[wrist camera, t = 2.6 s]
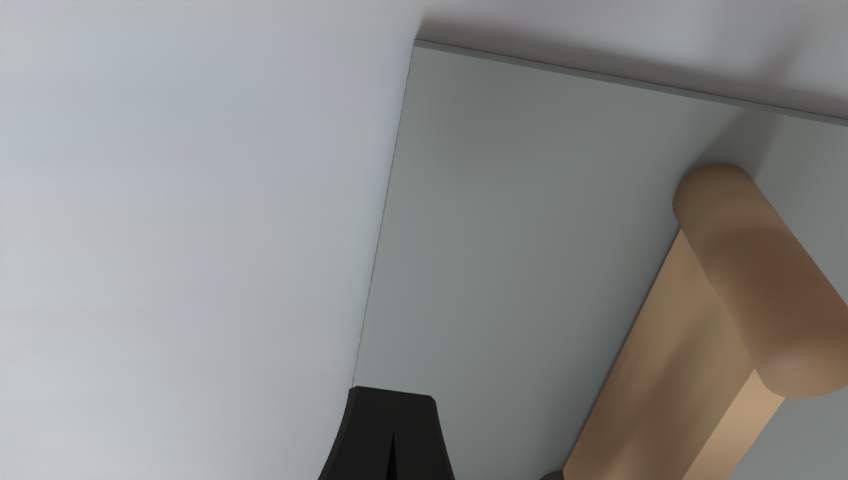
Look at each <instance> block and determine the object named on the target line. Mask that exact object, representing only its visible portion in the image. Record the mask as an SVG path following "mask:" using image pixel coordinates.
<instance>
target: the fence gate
mask: <svg viewBox="0 0 848 480" xmlns="http://www.w3.org/2000/svg"><path fill="white" fill-rule="evenodd" d="M672 207H673V212H674V215H675V217H676V219H677V221H678V223H679V225H680V227H681V229H680V231H679V233H678V235H677V237H676V239H675V241H674V243H673V246H672V248H671V250H670V252H669V254H668V256H667V258H666V260H665V262H664V264H663V266H662V268H661V270H660V272H659V274H658V276H657V278H656V281H655V283H654V285H653V287H652V289H651V291H650V293H649V295H648V297H647V299H646V301H645V303H644V305H643V307H642V309H641V311H640V313H639V315H638V318H637V320H636V322H635V324H634V326H633V328H632V330H631V332H630V334H629V336H628V338H627V340H626V342H625V344H624V346H623V348H622V350H621V352H620V355H619V357H618V359H617V361H616V363H615V365H614V367H613V369H612V371H611V373H610V375H609V377H608V379H607V381H606V383H605V385H604V387H603V389H602V392H601V394H600V396H599V398H598V400H597V402H596V404H595V406H594V408H593V410H592V412H591V414H590V416H589V418H588V420H587V422H586V424H585V426H584V429H583V431H582V433H581V435H580V437H579V439H578V441H577V443H576V445H575V447H574V449H573V451H572V453H571V455H570V457H569V459H568V461H567V463H566V466H565V468H564V470H563V475H564V480H727V479H728V477H729V476H730V474H731V473H732V472H733V470H734V469H735V467H736V466H737V465H738V463H739V462H740V460H741V459H742V458H743V456H744V455H745V453H746V452H747V451H748V449H749V448H750V447H751V445H752V444H753V442H754V441H755V440H756V438H757V437H758V435H759V434H760V433H761V431H762V430H763V428H764V427H765V426H766V424H767V423H768V421H769V420H770V419H771V417H772V416H773V414H774V413H775V412H776V410H777V409H778V407H779V406H780V405H781V403H782V402H783V400H784V399H785V398H786V397H787V398H794V399H806V398H814V397H819V396H823V395H827V394H830V393H832V392H835V391H837V390H839V389H841V388H843V387H845V386H847V385H848V306H847V304H846V303H845V302H844V300H843V299H842V298H841V296H840V295H839V294H838V292H837V291H836V290H835V288H834V287H833V286H832V284H831V283H830V282H829V280H828V279H827V278H826V276H825V275H824V274H823V272H822V271H821V270H820V268H819V267H818V266H817V264H816V263H815V262H814V261H813V259H812V258H811V257H810V255H809V254H808V253H807V251H806V250H805V249H804V247H803V246H802V245H801V243H800V242H799V241H798V239H797V238H796V237H795V235H794V234H793V233H792V231H791V230H790V229H789V227H788V226H787V225H786V223H785V222H784V221H783V219H782V218H781V217H780V216H779V214H778V213H777V212H776V210H775V209H774V208H773V206H772V205H771V204H770V202H769V201H768V200H767V198H766V197H765V196H764V194H763V193H762V192H761V190H760V189H759V188H758V186H757V185H756V184H755V182H754V181H753V180H752V178H751V177H750V176H749V175H748V173H747V172H745V171H744V170H743V169H741V168H740V167H737V166H735V165H730V164H714V165H709V166H706V167H703V168H701V169H699V170H697V171H695V172H693V173H692V174H690V175H689V176H688V177H687V178H686V179H684V181H683V182H682V183H681V184H680V185H679V187H678V188H677V190H676V192H675V194H674V197H673V204H672Z"/></svg>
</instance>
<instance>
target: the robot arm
mask: <svg viewBox="0 0 848 480" xmlns="http://www.w3.org/2000/svg"><path fill="white" fill-rule="evenodd" d="M318 480H455V477H454V474H453V470H452V467H451V463H450V460H449V456H448V453H447V449H446V446H445V442H444V438H443V434H442V430H441V426H440V421H439V416H438V411H437V405H436V401H435V400H434V399H433V398H432V396H430V395H422V394H415V393H408V392H401V391H393V390H386V389H379V388H371V387H364V386H355V387H353V388H351V389H349V394H348V399H347V404H346V408H345V412H344V415H343V419H342V422H341V425H340V428H339V431H338V434H337V436H336V439H335V441H334V444H333V446H332V449H331V451H330V454H329V456H328V459H327V461H326V463H325V465H324V468H323V470H322V472H321V474H320V476H319V478H318Z"/></svg>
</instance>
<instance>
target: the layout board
mask: <svg viewBox="0 0 848 480" xmlns="http://www.w3.org/2000/svg"><path fill="white" fill-rule="evenodd" d="M714 164H730V165H735V166H737V167H740V168H741V169H743V170H744V171H745V172H747V173H748V175H749V176H750V177H751V178H752V180H753V181H754V182H755V184H756V185H757V186H758V188H759V189H760V190H761V192H762V193H763V194H764V196H765V197H766V198H767V200H768V201H769V202H770V204H771V205H772V206H773V208H774V209H775V210H776V212H777V213H778V214H779V216H780V217H781V218H782V219H783V221H784V222H785V223H786V225H787V226H788V227H789V229H790V230H791V231H792V233H793V234H794V235H795V237H796V238H797V239H798V241H799V242H800V243H801V245H802V246H803V247H804V249H805V250H806V251H807V253H808V254H809V255H810V257H811V258H812V259H813V261H814V262H815V263H816V264H817V266H818V267H819V268H820V270H821V271H822V272H823V274H824V275H825V276H826V278H827V279H828V280H829V282H830V283H831V284H832V286H833V287H834V288H835V290H836V291H837V292H838V294H839V295H840V296H841V298H842V299H843V300H844V302H845V303H846V304H847V306H848V120H846V119H840V118H835V117H830V116H824V115H819V114H814V113H808V112H803V111H797V110H792V109H787V108H781V107H776V106H771V105H765V104H760V103H755V102H749V101H744V100H739V99H733V98H728V97H723V96H717V95H712V94H707V93H701V92H696V91H691V90H685V89H680V88H675V87H669V86H664V85H659V84H653V83H648V82H643V81H637V80H632V79H627V78H621V77H616V76H610V75H605V74H600V73H594V72H589V71H584V70H578V69H573V68H568V67H562V66H557V65H552V64H546V63H541V62H536V61H530V60H525V59H520V58H514V57H509V56H504V55H498V54H493V53H488V52H482V51H477V50H472V49H466V48H461V47H456V46H450V45H445V44H439V43H434V42H429V41H423V40H418V39H414V45H413V51H412V56H411V62H410V67H409V73H408V78H407V84H406V90H405V95H404V101H403V106H402V112H401V117H400V123H399V128H398V134H397V140H396V145H395V151H394V156H393V162H392V167H391V173H390V179H389V184H388V190H387V195H386V201H385V206H384V212H383V218H382V223H381V229H380V234H379V240H378V245H377V251H376V256H375V262H374V268H373V273H372V279H371V284H370V290H369V295H368V301H367V307H366V312H365V318H364V323H363V329H362V334H361V340H360V346H359V351H358V357H357V362H356V368H355V373H354V379H353V384H352V388H353V387H355V386H364V387H371V388H379V389H386V390H393V391H401V392H408V393H415V394H422V395H430V396H432V398H433V399H434V400H435V401H436V405H437V411H438V416H439V421H440V426H441V430H442V434H443V438H444V442H445V446H446V449H447V453H448V456H449V460H450V463H451V467H452V470H453V474H454V477H455V480H540V479H541V478H542V477H543V476H545V475H547V474H549V473H551V472H555V471H560V470H564V468H565V466H566V463H567V461H568V459H569V457H570V455H571V453H572V451H573V449H574V447H575V445H576V443H577V441H578V439H579V437H580V435H581V433H582V431H583V429H584V426H585V424H586V422H587V420H588V418H589V416H590V414H591V412H592V410H593V408H594V406H595V404H596V402H597V400H598V398H599V396H600V394H601V392H602V389H603V387H604V385H605V383H606V381H607V379H608V377H609V375H610V373H611V371H612V369H613V367H614V365H615V363H616V361H617V359H618V357H619V355H620V352H621V350H622V348H623V346H624V344H625V342H626V340H627V338H628V336H629V334H630V332H631V330H632V328H633V326H634V324H635V322H636V320H637V318H638V315H639V313H640V311H641V309H642V307H643V305H644V303H645V301H646V299H647V297H648V295H649V293H650V291H651V289H652V287H653V285H654V283H655V281H656V278H657V276H658V274H659V272H660V270H661V268H662V266H663V264H664V262H665V260H666V258H667V256H668V254H669V252H670V250H671V248H672V246H673V243H674V241H675V239H676V237H677V235H678V233H679V231H680V229H681V227H680V225H679V223H678V221H677V219H676V217H675V215H674V212H673V207H672V204H673V197H674V194H675V192H676V190H677V188H678V187H679V185H680V184H681V183H682V182H683V181H684V179H686V178H687V177H688V176H689V175H690V174H692V173H693V172H695V171H697V170H699V169H701V168H703V167H706V166H709V165H714ZM727 480H848V385H847V386H845V387H843V388H841V389H839V390H837V391H835V392H832V393H830V394H827V395H823V396H819V397H814V398H806V399H794V398H787V397H786V398H785V399H784V400H783V402H782V403H781V405H780V406H779V407H778V409H777V410H776V412H775V413H774V414H773V416H772V417H771V419H770V420H769V421H768V423H767V424H766V426H765V427H764V428H763V430H762V431H761V433H760V434H759V435H758V437H757V438H756V440H755V441H754V442H753V444H752V445H751V447H750V448H749V449H748V451H747V452H746V453H745V455H744V456H743V458H742V459H741V460H740V462H739V463H738V465H737V466H736V467H735V469H734V470H733V472H732V473H731V474H730V476H729V477H728V479H727Z"/></svg>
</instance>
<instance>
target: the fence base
mask: <svg viewBox="0 0 848 480" xmlns="http://www.w3.org/2000/svg"><path fill="white" fill-rule="evenodd" d="M540 480H564V475H563V470H560V471H555V472H551V473H549V474H547V475H545V476H543V477H542V478H541V479H540Z"/></svg>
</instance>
